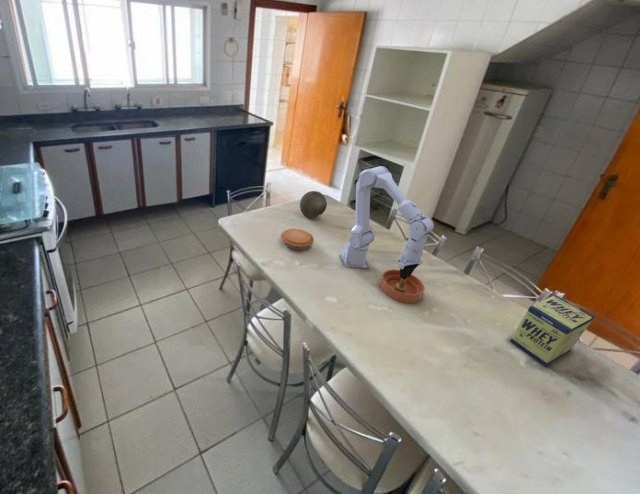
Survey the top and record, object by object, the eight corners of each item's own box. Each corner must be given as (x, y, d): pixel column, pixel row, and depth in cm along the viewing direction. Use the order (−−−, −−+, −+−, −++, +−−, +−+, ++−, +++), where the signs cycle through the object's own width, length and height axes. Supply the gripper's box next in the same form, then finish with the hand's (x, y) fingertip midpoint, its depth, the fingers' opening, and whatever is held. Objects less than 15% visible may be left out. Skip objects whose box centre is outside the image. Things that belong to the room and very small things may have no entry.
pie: (317, 241, 159) (319, 232, 157) (305, 256, 147) (306, 247, 145) (288, 231, 166) (289, 223, 164) (274, 245, 154) (275, 236, 152)
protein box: (508, 341, 109) (529, 306, 102) (534, 327, 115) (555, 293, 108) (544, 367, 101) (569, 330, 94) (571, 351, 107) (596, 315, 100)
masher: (397, 292, 128) (404, 271, 123) (393, 285, 131) (400, 264, 127) (407, 293, 128) (415, 271, 123) (403, 286, 131) (410, 265, 126)
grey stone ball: (298, 221, 176) (301, 196, 169) (298, 209, 189) (301, 185, 182) (324, 224, 174) (329, 199, 168) (323, 212, 187) (327, 188, 180)
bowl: (387, 302, 123) (390, 293, 121) (374, 276, 137) (377, 268, 135) (428, 305, 123) (431, 296, 121) (411, 279, 136) (414, 270, 134)
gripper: (415, 259, 114) (404, 289, 120) (434, 246, 122) (424, 275, 128) (396, 249, 119) (387, 279, 125) (416, 238, 127) (406, 266, 133)
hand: (404, 276), depth 127 cm, fingers closed on masher, 2 cm apart
